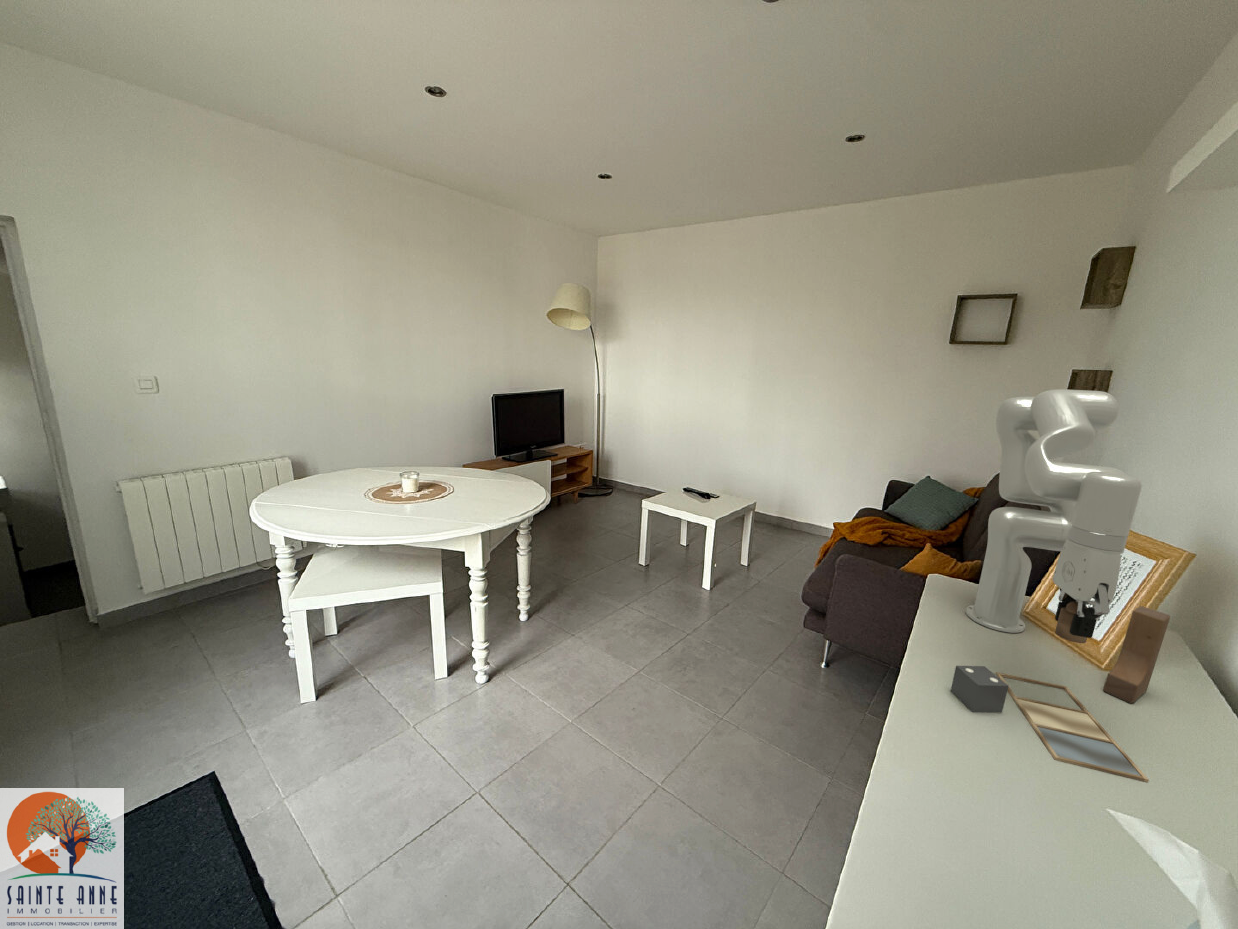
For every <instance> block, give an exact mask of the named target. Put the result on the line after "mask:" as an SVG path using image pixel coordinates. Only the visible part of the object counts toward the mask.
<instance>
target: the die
mask: <svg viewBox="0 0 1238 929" xmlns="http://www.w3.org/2000/svg"><path fill="white" fill-rule="evenodd" d="M1006 683H1007V682H1006ZM1006 683H1004V682H1003V681H1002V680H1001V679H1000V678H998V676H997V675H996V673H993V672H992V671H991V670H990V669H989V668H988V667H986V666H985V665H984V666H983V665H955V668H954V674H953V678H952V683H951V688H950V692H951V693H952V694H953V695H954V696H955V697H956V698H957V699H958V700H959V701H960V702H962V704H963V705H964V706H965V707H966V708H967V709H968V710H969V711H970V712H972V713H1003V711H1004V710H1003V709H1004V705H1005V703H1006V702H1005V701H1006V699H1007V693H1008V691H1007V690H1008V686H1009V684H1008V683H1007V684H1006Z"/></svg>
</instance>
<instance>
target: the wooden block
mask: <svg viewBox="0 0 1238 929" xmlns="http://www.w3.org/2000/svg"><path fill="white" fill-rule="evenodd" d="M1170 619H1171V616H1170V615H1169V614H1167V613H1163V612H1160V611H1158V610H1154V609H1152V608H1148V607H1145V606H1143V605H1140V606H1138V607H1137V608H1135V609H1134V610H1132V613H1131V616H1130V620H1129V623H1128V626H1127V629H1126V632H1125V636H1124V640H1123V642H1122V646H1121V649H1120V653H1119V655H1118V658H1117V659H1116V662H1115V664H1114V666H1113V668H1112V669H1110V671H1109V672H1108V673H1107V675H1106V679H1105V682H1104V686H1103V689H1102V690H1103V692H1105V693H1107V694H1109V695H1111V696H1113V697H1116V698H1118V699H1120V700H1122V701H1124V702H1127V703H1129V704H1133V703H1135V701H1137V700H1138V699H1139V698H1140V697H1141V696H1143V695H1144V694H1145V693H1146V692H1147V691H1148V689H1149V688H1148V687H1149V685H1150V682H1151V679H1152V675H1153V672H1154V669H1155V666H1156V664H1157V663H1156V662H1157V660H1158V657H1159V653H1160V651H1161V647H1162V644H1163V642H1164V638H1165V634H1166V632H1167V628H1168V625H1169V622H1170Z"/></svg>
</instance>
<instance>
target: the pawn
mask: <svg viewBox="0 0 1238 929" xmlns="http://www.w3.org/2000/svg"><path fill="white" fill-rule="evenodd" d="M1087 608H1088V606H1087V605H1086V607H1085V609H1087ZM1077 610H1078V602H1076V601H1074V602H1070V603H1068V604H1067V606H1066V607H1063V608H1061V611H1060V614H1059V618H1058V621H1056V622H1057V623H1056V625H1055V631H1054V633H1055V634H1056V636H1058V637H1060V638H1061V639H1063V640H1066V641H1069V642H1072V643H1076V644H1085V643H1087V640H1088V638H1087V637H1081V636H1076V635H1072V634H1071V633H1070V632H1069V631H1070V627H1071V623H1072V620H1073V616H1074V614H1077Z"/></svg>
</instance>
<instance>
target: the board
mask: <svg viewBox="0 0 1238 929" xmlns="http://www.w3.org/2000/svg"><path fill="white" fill-rule="evenodd" d="M995 675H996V676H997V677H998V678H1000V679H1001V680H1002V681H1003V682H1004V683H1006V684H1007V685H1008V683H1007V682H1006V680H1005V679H1004V678H1007V679H1012V680H1016V681H1022V682H1027V683H1031V684H1037V685H1042V686H1045V687H1051V688H1056V689H1061V690H1064V691H1065V692H1066V693H1067V694H1068V696H1069V697H1070V698H1071V699H1072V700H1073V701H1074V703H1075V704H1076V705H1077V706H1078V708H1080V709H1077V708H1073V707H1067V706H1064V705H1063V706H1062V705H1058V704H1054V703H1050V702H1049V703H1048V702H1044V701H1041V700H1035V699H1030V698H1024V697H1021V696H1016V695H1015V694H1014V692H1013V690H1012V689H1011V687H1010V686H1009V685H1008V690H1007V693H1009V695H1010V696H1011V698H1012V700H1013V701H1014V702H1015V704H1016V706H1017V707H1018V708H1019V710H1020V711H1021V713H1022V714H1023V716H1024V717H1025V718H1026V720H1027V722H1028V723H1029V724H1030V726H1031V727H1032V729H1033V730H1034V731H1035V733H1036V735H1037V736H1038V737H1039V739H1040V740H1041V742H1042V743H1043V745H1044V746H1045V747H1046V749H1047V750H1048V752H1049V753H1050V755H1051V757H1052V758H1053V759H1054V760H1055V761H1059V762H1063V763H1067V764H1071V765H1076V766H1080V767H1082V768H1083V767H1084V768H1088V769H1092V770H1096V771H1100V772H1104V773H1108V774H1112V775H1116V776H1120V777H1125V778H1128V779H1133V780H1137V781H1141V782H1145V783H1149V781H1150V780H1149V778H1148V777H1147V776H1146V775H1145V774H1144V773H1143V771H1142V770H1141V769H1140V768H1139V767H1138V766H1137V765H1136V763H1134V761H1133V759H1131V758H1130V757H1129V756H1128V754H1126V752H1125V751H1124V750H1123V749H1122V747H1121V746H1120V745H1119V744H1118V743H1117V742H1116V741H1115V739H1113V737H1112V736H1111V735H1110V734H1109V733H1108V731H1106V730H1105V729H1104V727H1103V726H1102V725H1101V724H1100V723H1099V721H1098V720H1097V719H1096V718H1095V717H1094V716H1093V715H1092V714H1091V713H1090V712H1089V710H1088V709H1087V708H1086V707H1085V706H1084V705H1083V703H1082V702H1081V701H1080V699H1078V698H1077V696H1075V694H1074V693H1073V692H1072V691H1071V690H1070V688H1069V687H1068V686H1066V685H1060V684H1056V683H1051V682H1046V681H1041V680H1037V679H1031V678H1026V677H1022V676H1017V675H1012V674H1007V673H1002V672H998V671H997V672H995Z"/></svg>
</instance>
